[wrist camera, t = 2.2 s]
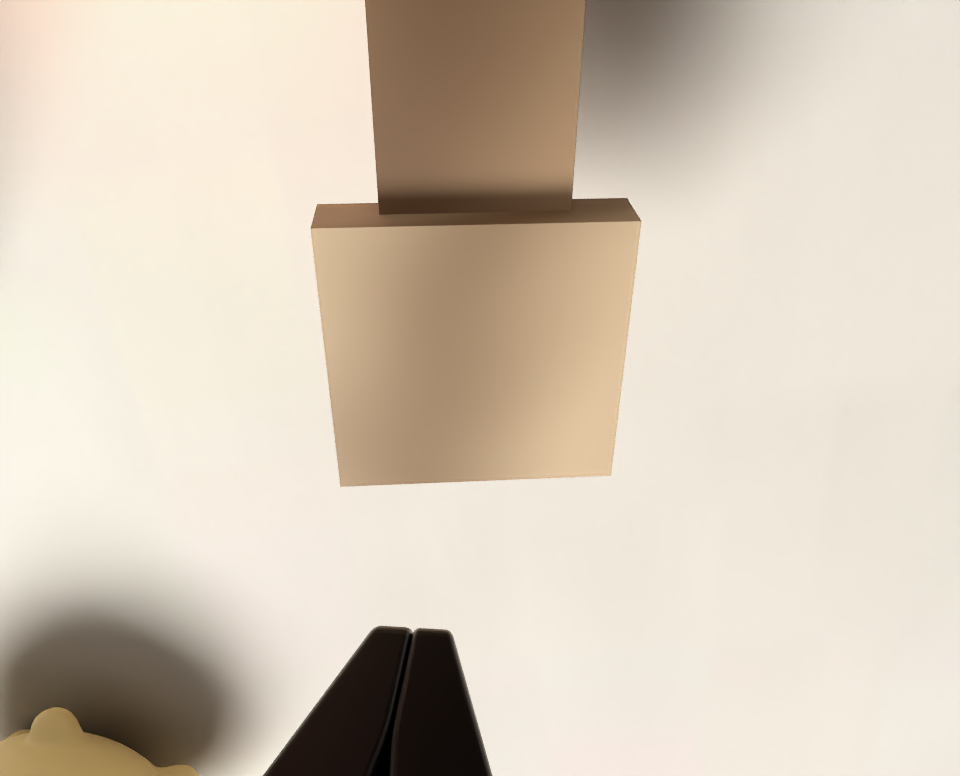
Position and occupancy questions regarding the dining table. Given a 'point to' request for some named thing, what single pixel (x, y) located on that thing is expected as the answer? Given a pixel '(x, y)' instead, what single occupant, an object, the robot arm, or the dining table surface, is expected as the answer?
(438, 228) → the lever
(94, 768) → the yellow rounded lump
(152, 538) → the dining table surface
